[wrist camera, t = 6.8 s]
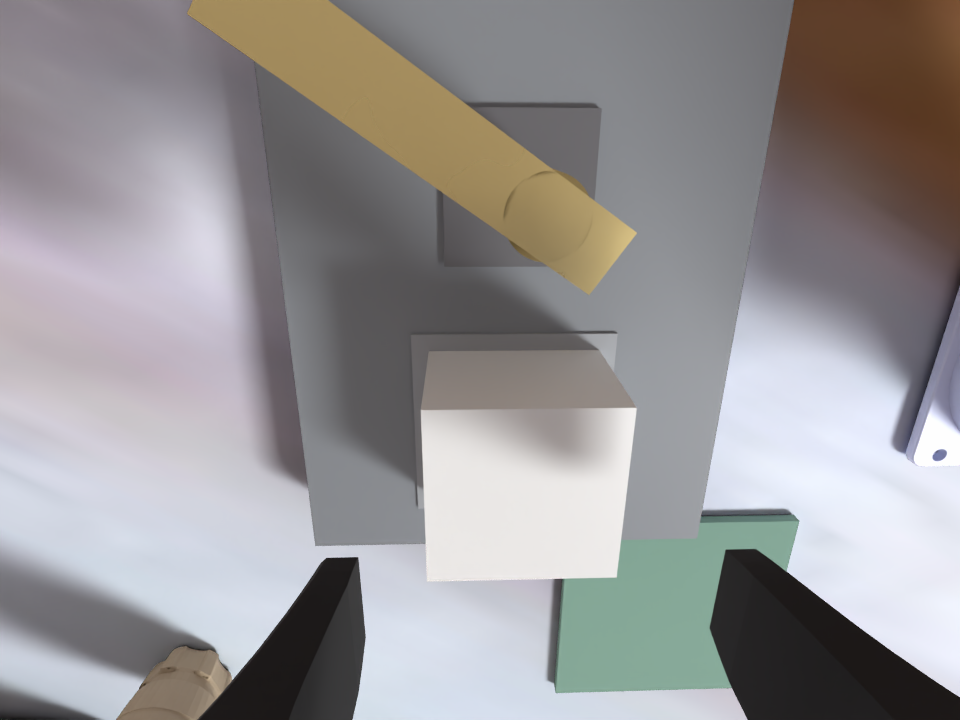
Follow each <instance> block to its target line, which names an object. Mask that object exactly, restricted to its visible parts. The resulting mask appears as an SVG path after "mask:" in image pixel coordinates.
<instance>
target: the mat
mask: <svg viewBox="0 0 960 720" xmlns="http://www.w3.org/2000/svg"><path fill="white" fill-rule="evenodd" d="M798 524H799V520H798V519H797V518H796V517H795V516H794V515H751V516H701V520H700V525H699V531H698V536H697V539H645V540H621V545H620V553H619V561H618V570H617V577H616V578H569V579H562V589H561V603H560V616H559V629H558V643H557V656H556V669H555V683H554V686H555V691H556V693H573V692H608V691H643V690H678V689H713V688H732V687H731V685H730V683H729V680H728V678H727V675H726V673H725V670H724V667H723V665H722V662H721V660H720V657H719V654H718V651H717V648H716V645H715V643H714V640H713V637H712V634H711V631H710V623H711V618H712V613H713V608H714V603H715V598H716V594H717V589H718V584H719V579H720V574H721V569H722V564H723V559H724V555H725V550H726V549H757V550H758V551H760V552H761V553H762V554H764V555H765V556H767V557H768V558H769V559H771V560H772V561H773V562H775V563H776V564H777V565H779V566H780V567H781V568H782V569H784V570H785V571H787V567H788V563H789V559H790V555H791V551H792V547H793V544H794V540H795V536H796V532H797V528H798Z"/></svg>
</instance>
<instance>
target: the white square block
mask: <svg viewBox="0 0 960 720" xmlns="http://www.w3.org/2000/svg"><path fill="white" fill-rule="evenodd" d="M636 411H637V407H636V406H635V404H634V403H633V401H632V400H631V398H630V396H629V395H628V393H627V392H626V390H625V389H624V387H623V386H622V384H621V383H620V381H619V380H618V378H617V376H616V375H615V373H614V372H613V370H612V369H611V367H610V366H609V364H608V363H607V361H606V360H605V358H604V357H603V355H602V353H601V352H600V350H522V351H429V353H428V361H427V368H426V375H425V383H424V390H423V397H422V404H421V431H422V458H423V485H424V512H425V538H426V565H427V582H430V581H477V580H523V579H569V578H616V577H617V570H618V561H619V553H620V545H621V536H622V528H623V520H624V511H625V503H626V495H627V486H628V478H629V470H630V461H631V453H632V445H633V436H634V428H635V419H636Z"/></svg>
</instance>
